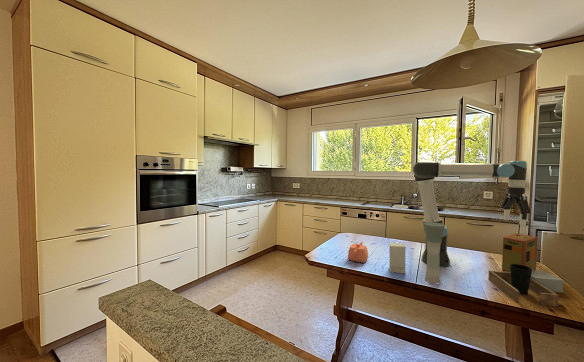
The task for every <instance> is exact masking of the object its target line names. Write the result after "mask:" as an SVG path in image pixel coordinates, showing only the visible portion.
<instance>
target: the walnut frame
mask: <svg viewBox="0 0 584 362" xmlns="http://www.w3.org/2000/svg"><path fill="white" fill-rule="evenodd" d="M487 278H488V279H487V280H488V281H490V282H491V283H492V284H493V285H495V287H496V288H498V289H499V290H501V291H502V292H503V293H504V294H505V295H507V296H508V297H509V298H510V299H512V300H513V301H514V302H515V301H516V302H515V303H520V294H519V292H520V291H518V290H517V289H516V288H514V287H513V286H512V285H511V274H510V272H503V271H502V270H488V277H487ZM529 290H531V291H532V292H534V293H535V294H536V295H537V296H539V303H538V304H539V305H541V306H548V307H549V306H550V307H555V308H556V307H558V308H559V302H560V294H558V293H557V292H553V291H551V290H550V289H548V288H546V287H545V286H543V285H541V284H540V283H538V282H536V281H535V280H533V279H532V278H531V279H530V284H529Z"/></svg>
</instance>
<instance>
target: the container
mask: <svg viewBox="0 0 584 362" xmlns="http://www.w3.org/2000/svg"><path fill="white" fill-rule="evenodd" d="M445 226H446V225H445V224H444V223H443V224H441V223H436V222H425V223H424V226H423V229H424V228H425V232H424V234H425V233H426V236H425V240H426V241H427V251H428V253H427V263H426V269H425V278H424V280H425V281H426V282H427V281H428V282H427V283H430V282H431V283H430V284H433V283H439V284H441V283H442V282H441V276H440V275H441V274H440V273H441V272H440V269H441V268H440V266H439V253H440V245H441V242H442V235H443V232H444V228H445Z"/></svg>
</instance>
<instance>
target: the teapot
mask: <svg viewBox="0 0 584 362" xmlns="http://www.w3.org/2000/svg"><path fill="white" fill-rule="evenodd" d="M348 249H349V250H348V251H347V258H348V260H349V261H352V262H355V261H356V263H360V262H361V263H362V264H364V263H366V262H367V260H368V258H369V252H368V247H367V246H366V245H363V241H360V243H355V244H354V243H353V244H351V245H350V246H349V248H348Z"/></svg>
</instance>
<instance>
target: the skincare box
mask: <svg viewBox="0 0 584 362" xmlns="http://www.w3.org/2000/svg"><path fill="white" fill-rule="evenodd" d="M388 249H389V273H393V272H396V273H395V274H402V273H404V275H405V274H406V244H405V243H400V242H397V243H396V242H389V248H388Z"/></svg>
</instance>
